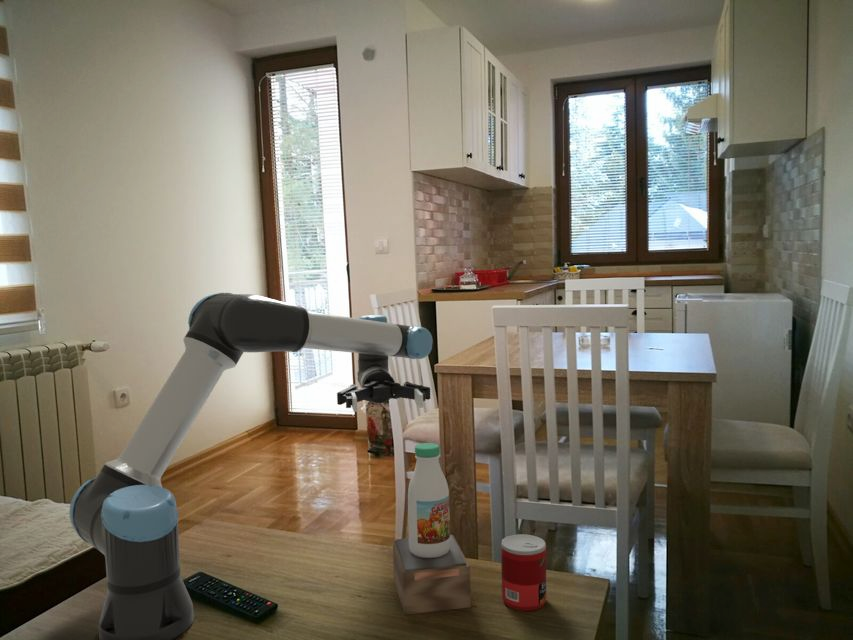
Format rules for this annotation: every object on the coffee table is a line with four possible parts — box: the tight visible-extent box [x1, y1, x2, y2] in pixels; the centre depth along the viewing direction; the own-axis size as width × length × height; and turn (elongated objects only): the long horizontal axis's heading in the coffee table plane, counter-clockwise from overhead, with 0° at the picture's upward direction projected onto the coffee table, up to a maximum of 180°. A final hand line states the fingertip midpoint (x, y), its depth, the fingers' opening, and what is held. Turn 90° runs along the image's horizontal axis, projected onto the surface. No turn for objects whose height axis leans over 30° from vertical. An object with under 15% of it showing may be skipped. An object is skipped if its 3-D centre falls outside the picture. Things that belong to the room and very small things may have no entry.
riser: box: [392, 533, 472, 616], centre depth 125 cm, size 12×14×8 cm
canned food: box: [500, 533, 547, 612], centre depth 121 cm, size 8×8×11 cm
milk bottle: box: [407, 442, 451, 558], centre depth 124 cm, size 8×8×20 cm
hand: (388, 403), depth 137 cm, fingers open, 13 cm apart
